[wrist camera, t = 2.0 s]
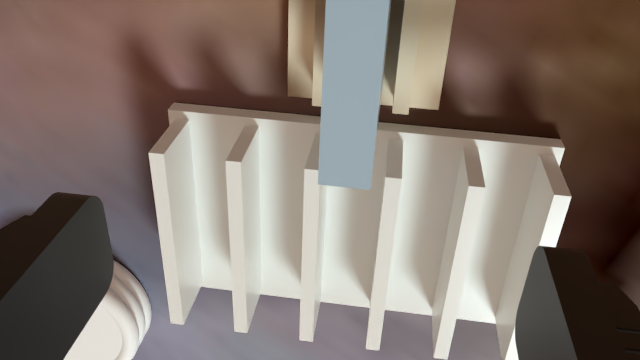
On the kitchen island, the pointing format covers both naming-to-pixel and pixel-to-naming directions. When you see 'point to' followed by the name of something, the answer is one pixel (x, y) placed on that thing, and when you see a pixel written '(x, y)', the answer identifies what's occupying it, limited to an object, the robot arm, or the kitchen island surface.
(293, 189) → the dish rack
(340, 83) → the grey board
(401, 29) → the plate stand
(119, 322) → the coaster
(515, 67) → the kitchen island surface
